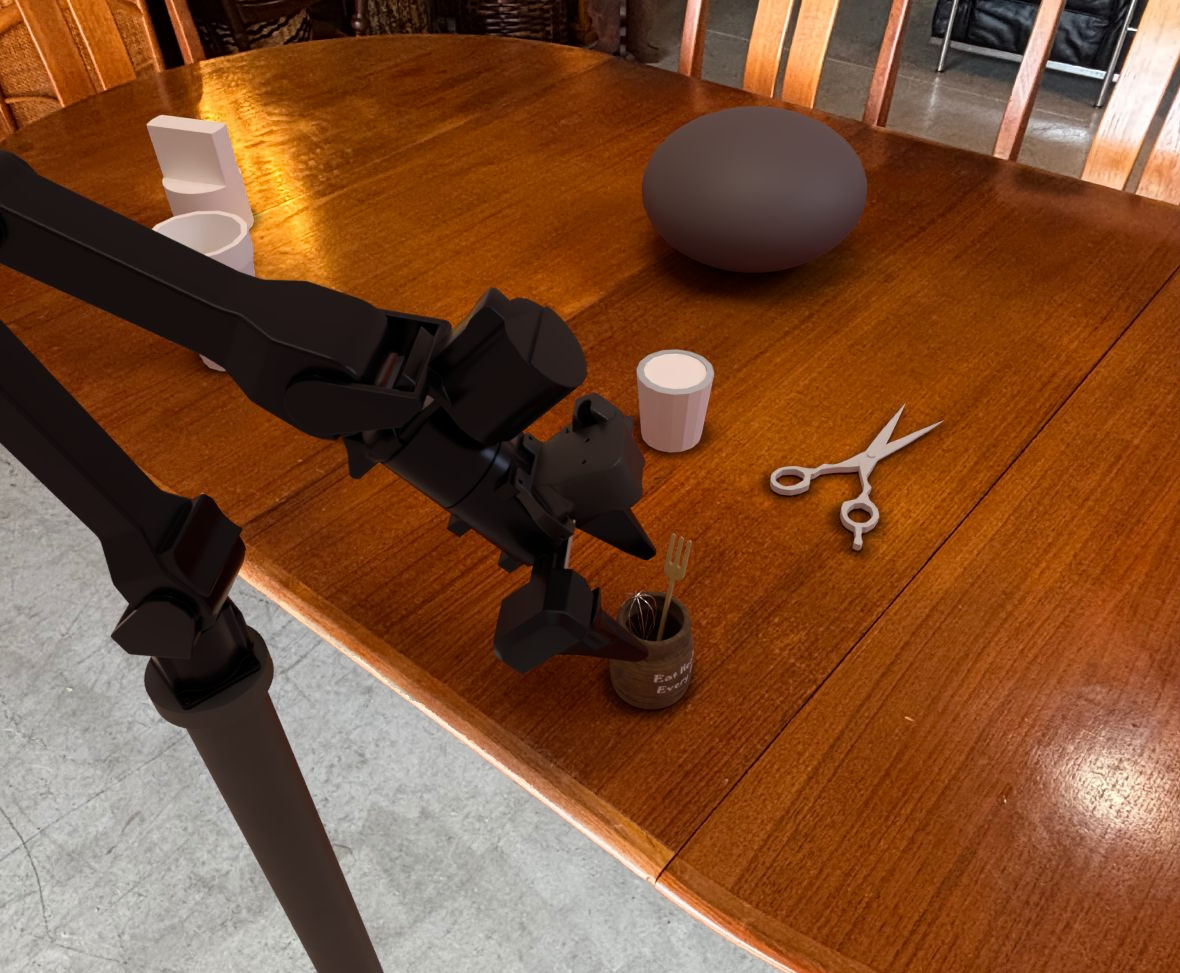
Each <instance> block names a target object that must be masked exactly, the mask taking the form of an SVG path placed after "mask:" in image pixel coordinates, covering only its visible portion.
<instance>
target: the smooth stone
mask: <svg viewBox="0 0 1180 973" xmlns="http://www.w3.org/2000/svg"><path fill="white" fill-rule="evenodd" d="M867 195H868V179H867V176H866V173H865V169H864V167H863V164H862V161H861V158H860V157H859V156H858V154H857V152H856V151H855V150H854V148H853V147H852V146H851V145H850V143H849V142H848V141H847V139H846V138H845V137H843V136H842V135H841V134H839V133H838V132H837V131H835V130H834V129H833V128H832V127H830V126H829V125H827V124H826V123H823V122H822V121H820V120H818V119H815V118H813V117H810V116H808V115H806V114H803V113H800V112H797V111H795V110H790V109H786V108H780V107H773V106H762V105H761V106H758V105H756V106H750V105H748V106H736V107H730V108H726V109H725V108H724V109H721V110H718V111H714V112H711V113H707V114H703V115H701V116H699V117H696V118H694V119H692V120H690V121H688V122H687V123H685V124H684V125H682V126H680V127H679V128H677V129H675V130H674V131H673V132H671V133H670V134H669V135H668V136H667V137H666V138H665V139H664V140H663V141H662V143H660V144H659V145H658V146H657V148H656V149H654V151H653V153H652V155H651V157H650V158H649V159H648V162H647V165H646V166H645V168H644V171H643V176H642V181H641V197H642V198H641V199H642V205H643V206H642V207H643V209H644V210H645V213H646V215H647V218H648V220H649V221H650V224H651V225H652V228H653V229H654V230H655V232H657V233H658V235H659V236H660V237H661V238H662V239H663V240H664V241H665V242H666V243H667V244H668V245H669V246H670V247H672V248H673V249H675V250H676V251H677V252H679V253H680V254H681V255H684V256H686V257H688V258H689V259H692V260H694V261H696V262H698V263H700V264H703V265H705V266H709V267H711V268H714V269H719V270H724V271H729V272H736V273H737V272H738V273H745V274H747V273H752V274H753V273H754V274H755V273H756V274H757V273H758V274H760V273H763V274H764V273H771V272H772V273H773V272H779V271H780V272H781V271H784V270H788V269H792V268H793V269H794V268H795V267H799V266H801V265H804V264H807V263H810V262H813V261H815V260H817V259H820V258H821V257H823V256H824V255H826V254H827V253H829V252H830V251H833V249H835V248H836V247H837V246H839V245H840V244H841V243H843V241H844V240H846V238H848V236H849V235H850V234H851V233H852V231H853V230H854V229H855V228H856V226H857V224H858V223H859V221H860V219H861V218H862V215H863V213H864V210H865V208H866V204H867V197H868V196H867Z"/></svg>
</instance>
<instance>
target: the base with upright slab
mask: <svg viewBox="0 0 1180 973" xmlns="http://www.w3.org/2000/svg"><path fill="white" fill-rule="evenodd" d="M146 128H147V131H148V134H149V138H150V141H151V144H152V146H153V149H154V153H155V155H156V159H157V162H158V165H159V168H160V171H161V174H162V176H163V178H162V180H161V182H162V187H163V189H164V192H165V195H166V198H167V201H168V205H169V207H170V210H171V214H172V217H174V216H178V215H183V214H187V213H192V212H196V211H222V212H226V213H230V214H235V215H237V216H239V217H240V218H241V219H242V220H244V221H245V222H246V223H247V225H248V229H249V230H250V229H251V228H252V227H253V225H254V224H255V223H254V222H255V219H254V215H253V212H252V207H251V204H250V200H249V198H248V197H249V196H248V193H247V189H246V185H245V182H244V181H245V180H244V178H243V175H242V171H241V168H240V167H239V166H238V162H237V159H236V156H235V152H234V148H233V144H232V140H231V137H230V134H229V129H228V126H227V123H226V122H222V121H221V122H219V121H212V120H207V119H206V120H205V119H197V118H189V117H182V116H181V117H180V116H173V115H166V114H160V115H158V116H155V117H153V118H152V119H150V120H149V121H148V122H147V123H146Z"/></svg>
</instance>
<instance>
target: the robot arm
mask: <svg viewBox="0 0 1180 973" xmlns="http://www.w3.org/2000/svg"><path fill="white" fill-rule="evenodd" d="M0 265H2V266H4V267H6V268H8V269H11V270H13V271H15V272H18V273H20V274H22V275H23V276H26V277H28V278H30V279H32V280H35V281H37V282H39V283H41V284H44V285H46V286H48V287H51V288H53V289H55V290H57V291H60V292H61V293H64V294H66V295H68V296H70V297H73V298H75V299H77V300H78V301H81V302H84V303H86V304H88V305H90V306H92V307H94V308H97V309H99V310H101V311H103V312H105V313H108V314H110V315H112V316H115V317H117V318H119V319H120V320H123V321H125V322H128V323H129V324H132V325H134V326H137V327H139V328H140V329H143V330H145V331H147V332H149V333H152V334H154V335H156V336H159V337H160V338H163V339H164V340H167V341H169V342H171V343H173V344H175V345H178V346H180V347H182V348H185V349H186V350H189V351H192V352H194V353H196V354H198V355H199V354H200V355H202V356H204V357H206V358H207V359H209V360H211V361H212V362H214V363H216V364H217V365H219V366H221V367H222V368H224V369H225V370H226V371H225V372H226V373H227V374H228V375H229V377H230V378H231V379H232V380H233V381H234V383H235V384H236V385H237V387H239V389H240V390H241V391H242V392H243V394H244V395H245V396H246V397H247V399H248V400H249V401H250V402H252V403H253V404H254V405H256V406H258V407H260V408H261V409H263V410H264V411H266V412H268V413H270V414H271V415H273V416H274V417H276V418H277V419H280V420H281V421H282V422H284V423H286V424H288V425H289V426H291V427H293V428H294V429H296V430H299V432H302V433H303V434H305V435H308V436H309V437H313V438H316V439H320V440H323V441H332V442H336V441H338V440H339V438H340V439H341V442H342V444H343V445H344V447H345V450H346V456H347V468H348V476H349V477H350V478H351V479H352V480H355V481H357V480H360V479H362V478H363V477H364V476H365V475H366V474H367V473H368V472H370V471H371V470H372V469H373V468H374V467H375V466H376V465H377V464H379V463H380V464H381V465H382V466H384V467H385V468H386V469H388V470H389V471H390V472H392V473H393V474H394V475H396V476H397V477H399V478H400V479H401V480H403V481H405V482H406V483H407V484H409V485H410V486H411V487H412V488H414V489H415V490H417V491H419V493H421V494H422V495H424V496H425V497H427V498H428V499H429V500H431V501H432V502H434V504H436V505H438V506H439V507H441V508H442V509H443V510H445V511H446V512H447V513H448V514H450V516H449V519H448V522H447V526H446V530H448V531H449V532H451V533H452V535H455V536H456V537H457V538H459V539H460V538H462V537H463V536H464V535H465V534H467V533H468V532H470V530H472V531H474V532H475V533H476V534H477V535H479V536H481V537H482V538H483V539H485V540H486V541H487V542H489V543H490V544H492V545H493V546H494V547H495V548H497V549H498V550H500V553H499V558H498V562H497V566H498V567H499V568H501V569H503V570H504V571H505V572H506V573H508V574H511V573H513V572H514V571H516V570H518V569H519V568H520V567H523V565H524V566H526V567H527V568H530V567H532V568H531V572H530V577H529V581H528V582H526V583H525V584H524V585H522V586H520V587H519V588H517V589H516V590H514V591H513V592H512V593H510V594H508V595H507V596H506V597H504V598H502V599H501V602H500V607H499V610H498V611H499V612H498V616H497V621H496V626H495V629H494V633H493V634H494V635H493V640H492V646H493V655H494V657H495V658H497V659H498V660H499V661H500V662H502V663H503V664H505V665H506V666H508V667H509V668H511V669H512V670H514V671H515V672H516V673H519V675H521V676H523V675H525V674H527V673H529V672H530V671H531V670H532V671H533V669H536V668H538V666H541V665H542V664H544V663H545V662H547V661H550V659H552V658H554V657H556V656H581V657H590V658H600V659H607V660H610V659H614V660H623V661H631V662H640V661H642V660H643V659H645V658H647V657H648V656H649V651H648V650H647V649H646V647H645V646H644V645H643V644H642V643H641V642H640V641H639V640H638V639H637V638H636V637H634V636H633V635H632V634H631V633H630V632H628V631H627V630H626V629H625V628H624V627H622V626H621V625H620V624H619V623H618V622H616V619H614V618H613V616H612V617H611V615H610V614H608V613H607V612H606V611H604V609H603V608H602V588H601V587H600V586H597V587H596V588H594V589H591V587H590V585H589V583H588V581H587V579H586V578H585V577H584V576H582V575H581V574H580V573H579V572H577V571H576V570H575V569H573V568H569V565H570V558H571V551H572V547H573V540H574V535H575V530H576V529H578V530H580V531H582V532H584V533H585V534H588V535H589V536H591V537H594V538H596V539H598V540H599V541H601V542H604V543H605V544H607V545H609V546H611V547H614V548H616V549H617V550H620V551H622V552H623V553H624V554H625V553H626V554H627V555H630V556H633V557H635V558H638V559H640V560H642V561H650V560H651V559H653V558H654V557H656V555H657V548H656V546H655V545H654V543H653V542H652V540H651V538H650V537H649V536H648V534H647V532H646V530H645V529H644V527H643V526H642V524H641V522H640V521H639V519H638V518H637V515H635V513H634V512H633V510H632V507H635V505H637V503H639V502H640V500H641V499H642V497H643V493H644V487H643V477H644V469H645V467H646V465H647V464H646V463H647V462H646V461H647V460H646V458H645V456H644V453H642V451H641V449H640V447H639V445H638V443H637V441H636V440H635V438H634V436H633V435H634V426H635V419H634V418H633V417H632V416H630V415H626V414H624V412H623V410H622V409H619V408H618V407H617V406H616V405H615V404H613V403H612V402H611V401H609V400H608V399H606V398H605V397H603V396H601V395H600V394H599V393H598V392H595V391H594V392H592V393H587V394H585V395H582V396H579V397H577V398H576V399H575V401H574V406H573V411H572V416H571V418H572V419H571V421H570V422H569V423H567V424H566V425H565V426H563V427H562V428H561V429H559V430H558V431H557V432H556V433H555V434H553V435H552V436H550V437H549V438H548V439H547V440H545V441H544V442H543V441H541V440H540V439H538V438H537V437H536V436H534V435H533V434H532V433H531V432H526V433H524V432H525V430H527V429H528V428H529V427H531V425H533V424H535V423H536V422H537V421H538V420H539V419H540V418H542V417H543V416H545V415H546V414H547V413H548V412H549V411H551V410H552V409H553V408H554V407H555V406H557V405H558V404H559V403H561V402H562V401H563V400H564V399H566V397H568V396H569V395H570V394H572V393H573V392H574V391H575V390H576V389H578V388H579V387H580V386H581V385H583V384H584V382H585V381H586V379H587V375H588V365H587V360H586V356H585V352H584V350H583V348H582V346H581V343H580V342H579V340H578V338H577V336H576V335H575V333H574V332H573V330H572V329H571V328H570V327H569V325H568V323H566V321H564V319H563V318H562V317H561V316H560V315H559V314H558V313H557V312H556V311H555V310H553V308H551V307H550V306H549V305H545V306H543V305H542V304H540V303H538V302H537V301H535V300H532V299H529V298H526V297H518V296H517V297H514V298H511V299H509V298H508V296H506V295H505V294H503V292H501V291H500V290H499V289H498V288H497V287H493V286H492V287H489V288H488V289H487V290H486V291H485V292H484V293H483V294H482V295H481V296H480V297H479V298H478V299H477V300H476V301H475V302H474V304H473V306H472V308H471V310H470V311H469V312H468V314H466V315H465V316H464V317H463V318H462V319H461V320H460V321H459V322H458V323H457V324H456V325H454V327H453V326H452V322H450V321H449V320H447V319H444V318H439V317H438V318H437V317H433V316H432V317H431V316H425V315H419V314H415V313H409V312H402V311H396V310H390V309H384V308H379V307H376V306H374V305H373V304H372V303H371V302H369V301H367V300H365V299H362V298H359V297H357V296H353V295H351V294H348V293H345V292H341V291H340V290H339V291H338V290H335V289H332V288H329V287H327V286H324V285H320V284H317V283H314V282H311V281H308V280H294V279H292V280H291V279H264V278H260V277H257V276H255V277H254V276H251V275H248V274H245V273H242V272H239V271H237V270H235V269H233V268H231V267H229V266H227V265H225V264H223V263H221V262H218V261H216V260H214V259H212V258H210V257H208V256H206V255H204V254H202V253H200V252H198V251H196V250H194V249H192V248H189V247H187V246H185V245H183V244H181V243H179V242H177V241H175V240H173V239H171V238H169V237H167V236H165V235H163V234H160V233H158V232H156V231H154V230H152V228H150V227H148V226H146V225H144V224H142V223H140V222H137V221H136V220H133V219H131V218H129V217H127V216H125V215H123V214H121V213H120V212H117V211H115V210H113V209H111V208H108V207H106V206H104V205H102V204H100V203H99V202H96V201H94V200H92V199H90V198H89V197H86V196H84V195H82V194H80V193H77V192H75V191H73V190H72V189H70V188H67V187H66V186H64V185H61V184H59V183H57V182H55V181H53V180H51V179H49V178H47V177H45V176H43V175H40V174H39V173H37V171H36V170H35V169H34V168H33V167H32V166H31V165H30V164H29V163H28V161H26V160H24V159H23V158H22V157H20V156H19V155H17V154H15V153H14V152H11V151H9V150H6V149H2V148H0ZM451 328H453V329H452V330H451ZM200 355H199V356H200ZM398 356H405V357H404V359H403V362H402V364H401V366H400V369H399V371H398V374H397V376H396V379H395V381H394V384H393V386H392V388H391V389H389V388H386V386H387V384H388V382H389V379H390V377H391V374H392V372H393V370H394V367H395V365H396V361H397V357H398ZM0 444H1V446H3V448H4V449H6V450H7V451H8V452H9V454H11V455H12V456H13V457H14V459H16V460H17V461H18V462H19V463H20V464H21V465H22V466H23V467H24V468H26V469H27V471H28V472H30V473H31V475H32V476H33V477H35V478H36V479H37V480H38V481H39V482H40V483H41V484H42V485H43V486H44V487H45V488H46V489H47V490H48V491H49V492H50V493H51V494H52V495H53V496H55V497H56V498H57V500H59V501H60V502H61V503H62V504H63V505H64V506H65V507H66V508H67V509H68V510H69V511H70V512H71V513H72V514H73V515H74V516H75V517H76V518H77V519H78V520H79V521H80V522H81V523H82V524H84V525H85V526H86V528H88V529H89V530H90V531H91V532H92V533H93V534H94V535H95V536H96V538H97V539H98V541H99V542H100V545H101V549H102V552H103V555H104V556H103V557H104V560H105V562H106V566H107V569H108V572H109V576H110V580H111V582H112V585H113V587H114V588H115V589H116V590H117V591H118V592H119V594H120V595H121V596H122V597H123V598H124V600H125V601H126V602H127V603H128V604H127V606H126V607H125V609H124V611H123V613H122V615H121V616H120V618H119V620H118V622H117V624H116V625H115V627H114V629H113V630H112V632H111V634H110V639H111V640H113V641H114V642H115V643H116V644H117V645H118V646H119V647H120V648H121V649H122V650H123V651H124V652H126V654H128V655H131V656H143V657H149V660H150V662H151V664H152V666H153V667H154V668H155V670H156V671H157V673H158V674H159V676H160V677H161V679H162V680H163V681H164V683H165V684H166V686H167V687H168V689H169V690H170V692H171V693H172V695H173V696H174V697H175V699H176V700H177V702H178V703H179V705H180V706H181V708H182V709H183V710H190V709H192V708H194V707H196V706H197V705H199V704H201V703H203V702H204V701H206V700H208V699H210V698H211V697H213V696H215V695H217V694H219V693H220V692H222V691H224V690H226V689H227V688H229V687H231V686H233V685H234V684H236V683H238V682H240V681H242V680H243V679H245V678H247V677H249V676H250V675H252V674H254V673H256V672H258V671H259V670H260V669H261V664H260V661H259V660H258V659H257V657H256V656H255V655H254V654H253V652H252V651H251V650H250V649H252V648H254V645H255V644H254V641H253V639H252V636H251V634H250V631H249V629H248V626H249V625H248V624H247V622H246V619H245V616H244V614H243V611H241V609H240V608H239V607H238V606H237V605H236V603H235V602H234V601H233V600H232V599H231V597H230V595H229V594H230V592H231V590H232V588H233V586H234V583H235V581H236V579H237V577H238V575H239V573H240V571H241V569H242V567H243V565H244V563H245V559H246V558H245V557H246V551H247V547H246V543H245V542H244V540H243V538H242V536H241V533H242V532H243V528H242V527H241V526H240V525H238V524H237V523H235V522H233V521H232V520H231V519H230V518H229V517H228V516H226V514H225V513H224V512H223V511H222V510H221V509H220V507H219V505H218V503H217V502H216V500H214V498H213V497H211V496H210V495H208V494H206V493H200V494H198V495H197V496H195V497H193V498H191V497H187V496H183V495H180V494H177V493H173V492H169V491H166V490H163V489H161V488H160V487H159V486H158V485H157V484H156V483H155V482H153V480H152V479H151V478H150V477H149V476H148V475H147V474H146V472H144V470H142V469H141V468H140V466H139V465H138V464H136V462H135V461H134V460H133V459H132V458H131V457H130V456H129V454H128V453H126V452H125V450H123V448H122V447H121V446H120V445H119V444H118V442H116V441H115V440H114V439H113V437H111V436H110V434H109V433H108V432H107V431H106V430H105V429H104V428H103V427H102V426H101V425H100V424H99V422H97V420H95V418H94V417H93V416H92V415H91V414H90V413H89V411H87V410H86V409H85V408H84V407H83V405H81V403H80V402H79V401H77V399H76V398H75V396H73V395H72V394H71V392H69V391H68V390H67V389H66V387H65V386H64V385H63V384H62V383H61V382H60V381H59V380H58V379H57V378H56V377H55V375H53V373H51V372H50V370H49V369H48V368H47V367H46V366H45V365H44V364H43V363H42V362H41V361H40V359H38V358H37V357H36V355H35V354H33V352H32V351H31V350H30V349H29V348H28V347H27V345H25V344H24V343H23V341H21V339H20V338H19V337H18V336H17V335H16V334H15V333H14V332H13V331H12V330H11V329H10V327H8V325H7V324H6V323H4V321H3V320H2V319H1V318H0ZM247 625H248V626H247ZM253 665H256V666H254V667H252V666H253ZM187 702H190V703H189V704H186V703H187Z"/></svg>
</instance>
